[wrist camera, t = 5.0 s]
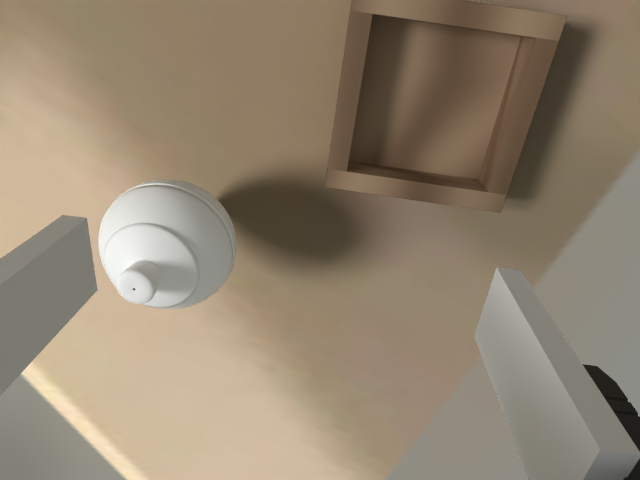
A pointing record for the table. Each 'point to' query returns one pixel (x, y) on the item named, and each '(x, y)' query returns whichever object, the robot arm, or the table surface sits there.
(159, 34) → the table surface
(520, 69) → the tray
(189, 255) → the spinning top
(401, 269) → the table surface
